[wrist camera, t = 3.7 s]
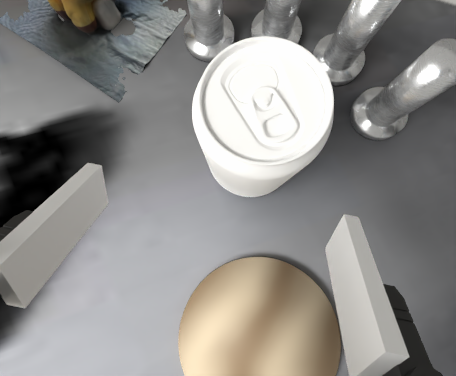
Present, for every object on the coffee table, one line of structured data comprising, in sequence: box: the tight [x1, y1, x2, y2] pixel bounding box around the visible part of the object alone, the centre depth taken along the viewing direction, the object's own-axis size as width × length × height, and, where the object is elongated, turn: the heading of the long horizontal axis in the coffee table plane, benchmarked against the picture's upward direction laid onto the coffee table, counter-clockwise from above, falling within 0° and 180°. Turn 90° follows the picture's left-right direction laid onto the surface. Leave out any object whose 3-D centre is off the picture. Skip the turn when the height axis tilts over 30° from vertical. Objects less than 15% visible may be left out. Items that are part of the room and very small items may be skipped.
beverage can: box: [192, 36, 334, 197], centre depth 20 cm, size 8×8×12 cm
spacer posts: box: [184, 0, 456, 141], centre depth 22 cm, size 23×12×9 cm, turn 78°
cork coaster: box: [178, 257, 341, 376], centre depth 23 cm, size 14×14×1 cm
